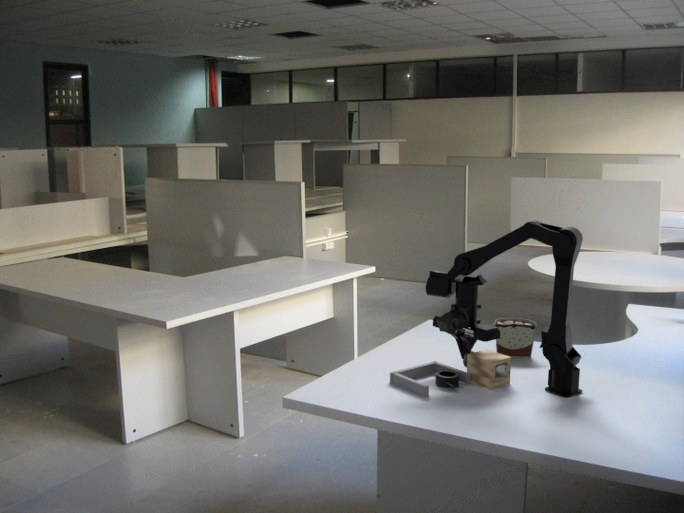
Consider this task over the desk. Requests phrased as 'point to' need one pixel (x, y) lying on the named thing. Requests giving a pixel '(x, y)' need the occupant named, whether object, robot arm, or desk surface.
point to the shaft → (499, 370)
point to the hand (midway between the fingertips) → (464, 359)
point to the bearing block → (487, 368)
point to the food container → (515, 337)
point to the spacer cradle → (406, 375)
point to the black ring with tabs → (447, 379)
